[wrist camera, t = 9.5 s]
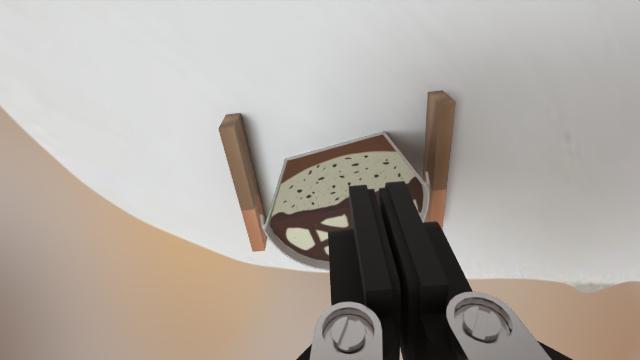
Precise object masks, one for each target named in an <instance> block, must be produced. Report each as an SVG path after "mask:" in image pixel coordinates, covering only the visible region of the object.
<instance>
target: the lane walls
mask: <svg viewBox="0 0 640 360" xmlns="http://www.w3.org/2000/svg"><path fill="white" fill-rule="evenodd" d="M454 112H455V102H454V101H453V100H452V99H451V98H450V97H449V96H448V95H447V94H446V93H444V92H443V91H435V92H428V102H427V118H426V135H425V152H424V169H423V181H424V182H425V183H426V177H425V172H427V171H428V177H429V182H430V199H429V206H428V211H427V214H426V217H425V220H424V222H433V221H436V222H438V223H439V225H440V227H441V229H442V227H443V218H444V208H445V198H446V189H447V179H448V169H449V160H450V150H451V140H452V131H453V121H454ZM219 132H220V136H221V139H222V143H223V146H224V150H225V154H226V157H227V161H228V164H229V168H230V172H231V175H232V179H233V182H234V186H235V190H236V193H237V197H238V200H239V204H240V207H241V211H242V215H243V218H244V222H245V225H246V229H247V233H248V236H249V240H250V243H251V247H252V251H253V252H254V251H264V250H265V247H266V240H267V235H266V234H265V232H264V229H263V228H262V226H261V219H260V215H263V217H264V218H265V216H264V212H263V207H262V203H261V199H260V195H259V191H258V186H257V182H256V178H255V174H254V170H253V165H252V161H251V157H250V153H249V148H248V144H247V140H246V136H245V132H244V127H243V123H242V119H241V115H240V113H238V114H229V115H226V116H225V118H224V120H223V122H222V123H221V125H220V127H219Z"/></svg>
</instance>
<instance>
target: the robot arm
mask: <svg viewBox="0 0 640 360" xmlns="http://www.w3.org/2000/svg"><path fill="white" fill-rule="evenodd" d="M349 202H350V215H351V229H345V230H334V231H328V246H329V266H330V284H331V303H332V306H330V307H329V308H328V309H326V310H325V311H323V313H322V314H321V315H320V317H319V318H318V320H317V323H316V326H315V330H314V336H313V342H312V344H311V345H310V347H308V348H307V349H306V350H305V351H304V352H303V353H302V354H301V355H300V356H299V358H298V359H297V360H399V356H400V348H401V353H402V357H403V360H572V359H570V358H568V357H567V356H565V355H563V354H561V353H559V352H557V351H555V350H554V349H552V348H550V347H548V346H546V345H544V344H542V343H540V342H539V341H537V340H536V339H535V338H534V336H533V335H532V334H531V333H530V331H529V330H528V329H527V327H526V326H525V325H524V324H523V322H522V321H521V320H520V319H519V317H518V316H517V315H516V313H515V312H514V311H513V310H512V309H511V308H510V307H509V306H508V305H507V304H506V303H504V302H503V301H501V300H500V299H498V298H496V297H494V296H491V295H489V294H486V293H481V292H473V291H472V289H471V287H470V286H469V283H468V281H467V279H466V277H465V275H464V273H463V271H462V269H461V267H460V265H459V263H458V261H457V259H456V257H455V255H454V253H453V251H452V249H451V247H450V245H449V243H448V241H447V239H446V237H445V235H444V233H443V231H442V229H441V227H440V225H439V223H438V222H436V221H433V222H422V220H421V217H420V215H419V213H418V210H417V208H416V206H415V204H414V201H413V199H412V197H411V194H410V192H409V190H408V187H407V185H406V183H405V181H397V182H387V183H386V184H385V187H384V188H379V204H378V201H377V197H376V194H375V190H374V189H368V188H367V185H356V186H349Z"/></svg>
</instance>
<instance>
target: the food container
mask: <svg viewBox="0 0 640 360" xmlns="http://www.w3.org/2000/svg"><path fill="white" fill-rule="evenodd" d="M425 177H426V183H425V182H424V181H423V180H422V178H421V177H420V176H419V174H418V173H417V172H416V171H415V169H414V168H413V167H412V166H411V164H410V163H409V162H408V161H407V159H406V158H405V157H404V155H403V154H402V153H401V152H400V150H399V149H398V148H397V147H396V145H395V144H394V143H393V141H392V140H391V139H390V138H389V136H388V135H387V134H386V133H385V131H383V132H380V133H376V134H373V135H369V136H365V137H362V138H358V139H355V140H351V141H348V142H344V143H340V144H337V145H333V146H330V147H326V148H322V149H319V150H315V151H312V152H308V153H304V154H301V155H297V156H294V157H290V158H287V159H285V162H284V165H283V168H282V171H281V174H280V178H279V181H278V184H277V187H276V191H275V194H274V197H273V200H272V204H271V207H270V210H269V213H268V217H267V220H265V218H264V217H263V215H260V219H261V226H262V228H263V229H264V232H265V234H266V235H267V237H268V239H269V240H270V241H271V242H272V243H273V245H274V246H275V247H276V248H277V249H278V250H279V251H281V252H282V253H283V254H284V255H286V256H287V257H289V258H290V259H292V260H294V261H296V262H298V263H300V264H303V265H305V266H308V267H312V268H315V269H320V270H326V271H330V266H329V246H328V231H334V230H345V229H351V215H350V202H349V186H356V185H367V188H368V189H374V190H375V194H376V197H377V201H378V204H379V188H384V187H385V184H386V183H387V182H397V181H405V183H406V185H407V187H408V190H409V192H410V194H411V197H412V199H413V201H414V204H415V206H416V208H417V210H418V213H419V215H420V217H421V220H422V222H424V220H425V217H426V214H427V211H428V206H429V199H430V182H429V177H428V171H427V172H425Z"/></svg>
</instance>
